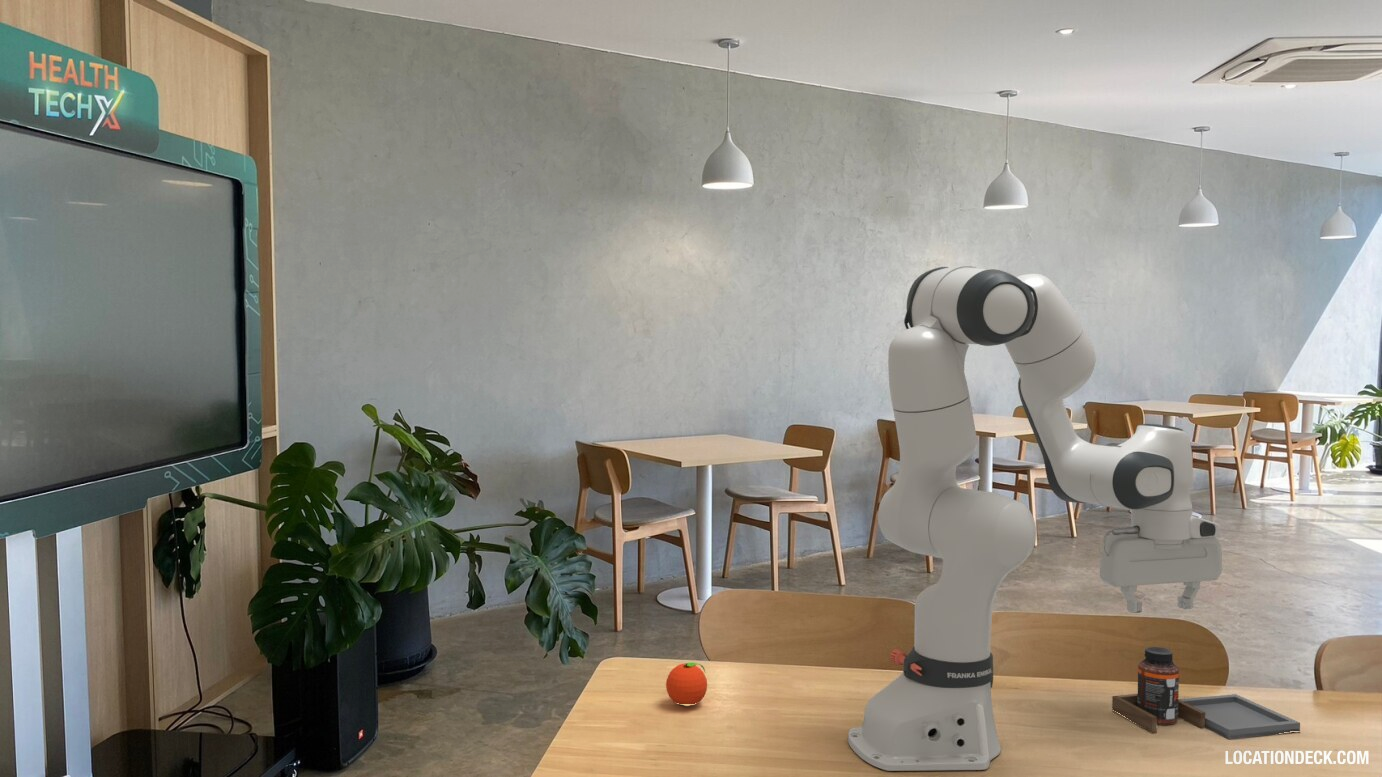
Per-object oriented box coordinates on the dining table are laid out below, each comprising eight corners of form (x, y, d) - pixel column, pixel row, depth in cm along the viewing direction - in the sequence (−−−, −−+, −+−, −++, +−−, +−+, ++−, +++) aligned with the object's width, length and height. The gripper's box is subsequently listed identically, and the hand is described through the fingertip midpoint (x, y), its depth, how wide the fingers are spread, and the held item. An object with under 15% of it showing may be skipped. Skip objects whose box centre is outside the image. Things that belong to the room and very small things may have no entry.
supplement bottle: (1183, 727, 151) (1184, 656, 151) (1142, 725, 152) (1143, 654, 152) (1172, 714, 157) (1173, 645, 157) (1133, 711, 158) (1134, 643, 158)
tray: (1229, 739, 146) (1229, 729, 146) (1168, 709, 159) (1169, 700, 159) (1299, 732, 149) (1300, 722, 149) (1235, 702, 162) (1235, 694, 162)
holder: (1152, 733, 149) (1152, 717, 149) (1112, 710, 158) (1112, 696, 158) (1205, 728, 151) (1205, 712, 151) (1162, 706, 160) (1162, 691, 160)
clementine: (690, 693, 166) (690, 652, 166) (720, 703, 162) (720, 661, 161) (657, 705, 161) (657, 663, 160) (686, 716, 156) (687, 673, 156)
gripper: (1117, 531, 148) (1116, 619, 149) (1229, 525, 153) (1228, 611, 153) (1091, 524, 154) (1090, 609, 155) (1200, 518, 159) (1199, 601, 159)
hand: (1160, 610), depth 154 cm, fingers open, 8 cm apart
